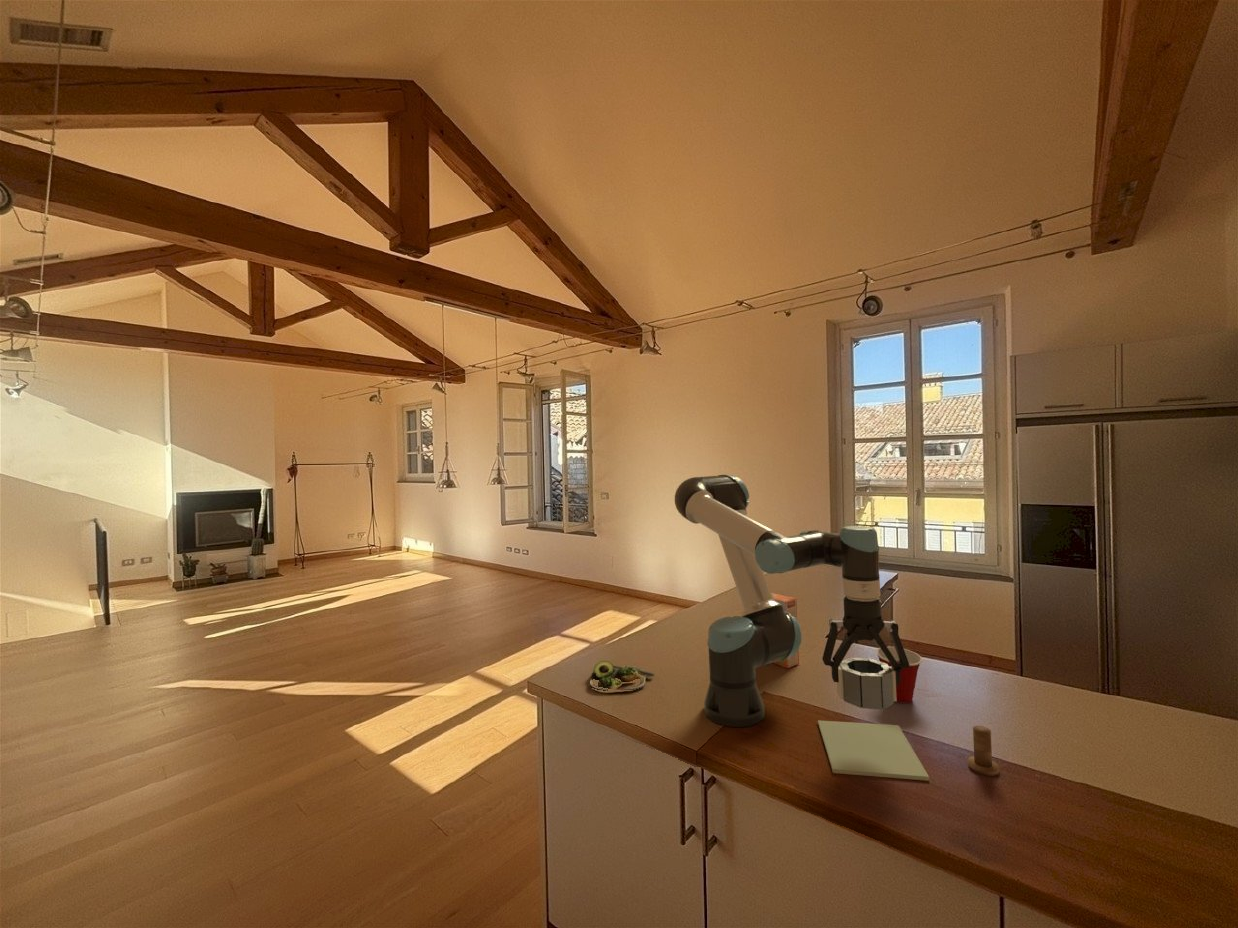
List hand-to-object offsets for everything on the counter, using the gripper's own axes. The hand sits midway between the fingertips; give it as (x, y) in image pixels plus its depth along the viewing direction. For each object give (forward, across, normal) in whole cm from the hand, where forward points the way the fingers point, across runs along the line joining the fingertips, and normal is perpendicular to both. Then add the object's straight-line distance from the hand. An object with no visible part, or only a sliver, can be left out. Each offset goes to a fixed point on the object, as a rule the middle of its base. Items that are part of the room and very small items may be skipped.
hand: (866, 697), depth 115 cm
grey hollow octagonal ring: (0, 0, 0) cm, 0 cm away
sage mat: (+12, 0, 0) cm, 12 cm away
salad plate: (+12, -64, +28) cm, 71 cm away
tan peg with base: (+12, +21, -4) cm, 24 cm away
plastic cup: (+12, +14, +26) cm, 32 cm away
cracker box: (+12, -16, +49) cm, 53 cm away
